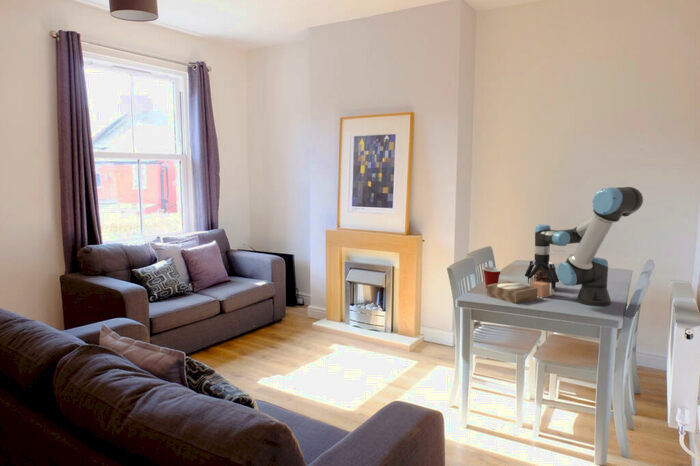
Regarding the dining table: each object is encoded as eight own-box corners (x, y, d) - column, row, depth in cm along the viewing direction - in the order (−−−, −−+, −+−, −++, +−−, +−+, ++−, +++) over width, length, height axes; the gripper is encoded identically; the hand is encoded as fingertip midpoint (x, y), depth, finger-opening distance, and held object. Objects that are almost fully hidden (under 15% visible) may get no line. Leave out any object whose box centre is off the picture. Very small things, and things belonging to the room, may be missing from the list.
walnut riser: (537, 299, 258) (537, 287, 257) (515, 303, 250) (516, 291, 249) (507, 291, 275) (507, 280, 274) (487, 295, 267) (487, 284, 266)
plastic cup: (499, 291, 275) (499, 270, 274) (480, 289, 281) (480, 269, 279) (503, 287, 285) (503, 267, 283) (484, 285, 290) (484, 265, 289)
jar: (557, 291, 273) (558, 264, 271) (535, 290, 275) (535, 264, 274) (553, 286, 285) (553, 261, 283) (532, 285, 287) (532, 260, 285)
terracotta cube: (550, 295, 264) (551, 283, 263) (542, 297, 261) (542, 285, 260) (540, 293, 270) (540, 280, 269) (531, 295, 267) (531, 282, 266)
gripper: (567, 255, 254) (565, 295, 256) (528, 249, 275) (527, 286, 278) (557, 257, 250) (556, 298, 253) (518, 251, 271) (518, 288, 274)
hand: (541, 292), depth 265 cm, fingers open, 13 cm apart
